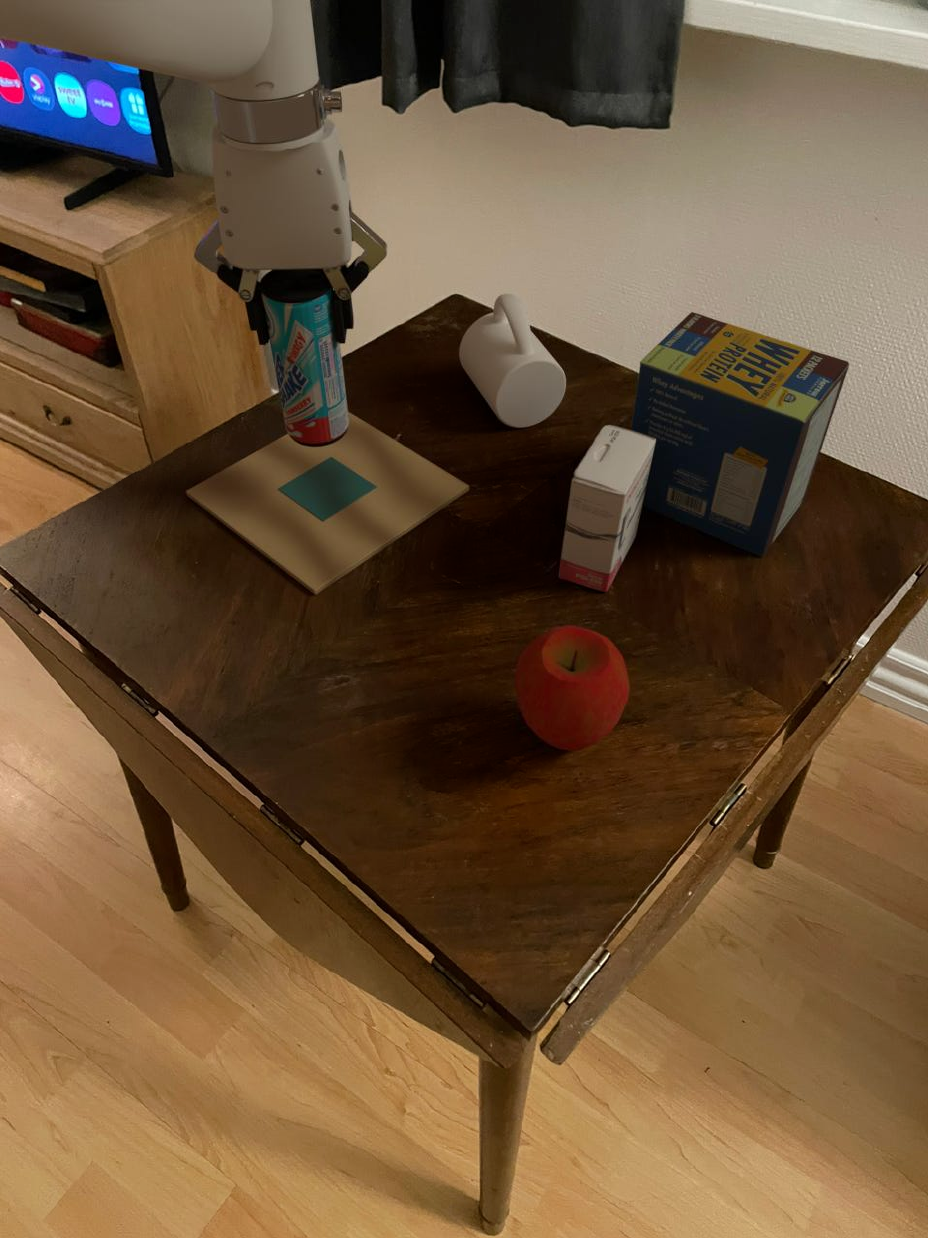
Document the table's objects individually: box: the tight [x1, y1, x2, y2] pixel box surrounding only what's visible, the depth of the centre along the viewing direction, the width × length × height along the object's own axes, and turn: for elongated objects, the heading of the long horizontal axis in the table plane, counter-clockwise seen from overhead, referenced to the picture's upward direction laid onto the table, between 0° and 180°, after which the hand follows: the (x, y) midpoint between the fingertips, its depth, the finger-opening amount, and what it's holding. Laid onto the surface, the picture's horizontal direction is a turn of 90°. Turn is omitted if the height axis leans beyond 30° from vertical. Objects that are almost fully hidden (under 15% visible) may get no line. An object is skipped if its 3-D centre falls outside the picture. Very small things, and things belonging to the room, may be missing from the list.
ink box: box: [558, 424, 656, 593], centre depth 82 cm, size 9×5×12 cm, turn 155°
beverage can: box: [259, 269, 349, 447], centre depth 82 cm, size 6×6×15 cm
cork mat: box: [185, 411, 470, 595], centre depth 93 cm, size 20×20×1 cm
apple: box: [513, 624, 631, 752], centre depth 69 cm, size 9×8×11 cm
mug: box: [458, 293, 567, 429], centre depth 99 cm, size 8×10×12 cm
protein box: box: [630, 311, 850, 558], centre depth 86 cm, size 10×15×16 cm
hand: (303, 333), depth 80 cm, fingers closed on beverage can, 5 cm apart
